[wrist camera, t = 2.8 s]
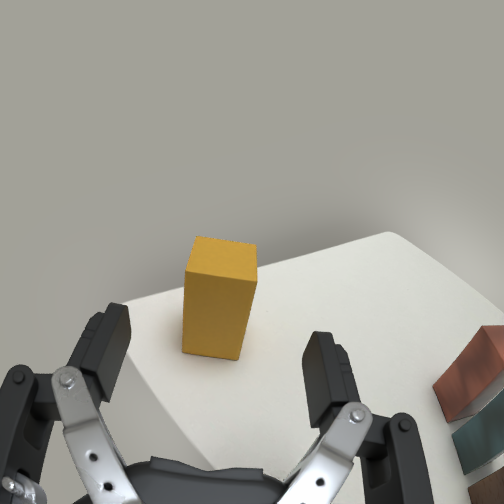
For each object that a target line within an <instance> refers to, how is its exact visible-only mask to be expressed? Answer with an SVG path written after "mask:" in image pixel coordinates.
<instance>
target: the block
mask: <svg viewBox="0 0 504 504" xmlns="http://www.w3.org/2000/svg"><path fill="white" fill-rule="evenodd" d="M256 286H257V252H256V245H253V244H247V243H240V242H234V241H227V240H220V239H214V238H207V237H201V236H196V239H195V242H194V245H193V248H192V251H191V254H190V257H189V260H188V264H187V267H186V270H185V283H184V305H183V336H182V352H183V353H189V354H195V355H202V356H209V357H216V358H224V359H232V360H238V359H239V355H240V351H241V347H242V343H243V339H244V335H245V331H246V327H247V323H248V319H249V315H250V311H251V306H252V302H253V298H254V294H255V290H256Z"/></svg>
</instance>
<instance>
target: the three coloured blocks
mask: <svg viewBox="0 0 504 504" xmlns="http://www.w3.org/2000/svg"><path fill="white" fill-rule="evenodd" d="M433 388H434V390H435V392H436V395H437V397H438V400H439V402H440V405H441V407H442V410H443V413H444V415H445V418H446V421H447V423H448V422H452V421H455V420H459V419H462V418H465V417H469V416H472V415H475V414H476V413H477V412H479V411H480V410H481V409H482V408H483V407H484V406H485V405H486V404H487V403H488V402H489V401H490V400H491V399H493V398H494V397H495V396H496V395H497V394H498V393H499V392H500V391H501V390H502V389H503V388H504V325H497V326H481V327H480V329H479V330H478V331H477V333H476V334H475V336H474V337H473V338H472V340H471V341H470V342H469V343H468V345H467V346H466V347H465V349H464V350H463V351H462V352H461V354H460V355H459V356H458V357H457V359H456V360H455V361H454V362H453V363H452V365H451V366H450V367H449V368H448V369H447V370H446V371H445V373H444V374H443V375H442V376H441V377H440V378H439V379H438V380H437V382H436V383H435V384H434V385H433ZM452 437H453V440H454V443H455V446H456V449H457V452H458V455H459V459H460V462H461V465H462V469H463V472H464V475H466V474H468V473H470V472H472V471H474V470H476V469H478V468H480V467H482V466H484V465H486V464H488V463H489V462H491V461H493V460H494V459H496V458H497V457H499V456H500V455H502V454H503V453H504V389H503V390H502V391H501V392H500V393H499V394H498V395H497V396H496V397H495V398H494V399H493V400H492V401H491V402H489V403H488V404H487V405H486V406H485V407H484V408H483V409H482V410H481V411H480V412H479V413H477V414H476V415H475V416H474V417H473V418H472V419H471V420H469V421H468V422H467V423H466V424H465V425H463V426H462V427H461V428H460V429H458V430H457V431H456V432H455V433H453V434H452ZM468 490H469V494H470V498H471V502H472V504H504V466H503V467H502V468H500V469H499V470H497V471H496V472H494V473H492V474H491V475H489V476H487V477H486V478H484V479H482V480H481V481H479V482H477V483H475V484H473V485H472V486H470V487H468Z"/></svg>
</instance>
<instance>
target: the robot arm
mask: <svg viewBox="0 0 504 504" xmlns="http://www.w3.org/2000/svg"><path fill="white" fill-rule="evenodd" d="M130 340H131V325H130V318H129V311H128V307H127V305H122V304H116V303H112V302H111V303H110V304H109V305H108V307H107V309H106V311H105V313H101V312H98V313H96V314H95V315H94V316H93V317H92V318H90V319H89V322H88V323H87V325H86V327H85V330H84V331H83V333H82V335H81V337H80V339H79V341H78V343H77V345H76V347H75V349H74V351H73V353H72V355H71V357H70V359H69V361H68V363H67V365H66V366H64V367H61V368H59V369H57V370H56V371H55V372H54V373H53V374H34V373H33V372H32V370H31V369H30V368H29V367H28V366H26V365H16V366H14V367H12V368H11V369H10V370H9V371H8V373H7V375H6V377H5V379H4V381H3V384H2V386H1V388H0V504H47V497H46V494H45V492H44V490H43V489H42V487H41V486H40V485H39V482H40V477H41V472H42V467H43V463H44V458H45V454H46V450H47V447H48V442H49V439H50V435H51V431H52V428H53V425H54V421H62V422H63V426H64V429H63V435H64V438H65V441H66V444H67V446H68V449H69V452H70V454H71V457H72V459H73V461H74V464H75V465H76V469H77V471H78V473H79V475H80V477H81V480H82V482H83V484H84V486H85V488H86V490H87V492H88V494H86V495H85V496H83V497H82V498H80V499H79V500H77V501H76V502H74V503H73V504H331V502H332V501H333V499H334V498H335V496H336V495H337V493H338V492H339V490H340V488H341V487H342V485H343V483H344V482H345V480H346V478H347V477H348V475H349V473H350V472H351V470H352V468H353V465H354V463H353V462H352V461H353V458H354V457H355V456H357V457H360V460H361V468H362V477H363V485H364V495H365V504H434V500H433V495H432V489H431V484H430V479H429V474H428V469H427V464H426V460H425V456H424V451H423V447H422V443H421V439H420V435H419V431H418V427H417V424H416V422H415V420H414V419H413V417H412V416H410V415H409V414H406V413H397V414H395V415H394V416H393V417H392V418H388V417H384V416H379V415H375V414H372V413H371V411H370V409H369V408H368V407H367V406H366V405H364V404H362V403H361V401H360V397H359V394H358V390H357V386H356V382H355V379H354V375H353V373H352V368H351V365H350V361H349V358H348V354H347V352H346V351H345V350H344V348H343V347H342V346H341V345H340V344H335V343H334V339H333V335H332V333H331V332H318V331H314V332H313V333H312V335H311V338H310V340H309V342H308V344H307V346H306V349H305V351H304V353H303V357H302V369H303V376H304V382H305V389H306V396H307V403H308V411H309V418H310V425H311V428H319V430H320V434H319V435H318V437H317V438H316V440H315V441H314V443H313V444H312V445H311V447H310V448H309V450H308V451H307V452H306V454H305V455H304V457H303V458H302V459H301V461H300V462H299V463H298V465H297V466H296V467H295V468H294V469H293V470H292V472H291V473H290V474H289V475H288V476H287V477H286V479H285V480H284V481H283V482H281V481H279V480H278V479H276V478H273V477H271V476H268V475H265V474H263V469H257V468H229V469H222V470H215V471H204V470H201V469H198V468H195V467H192V466H190V465H187V464H184V463H182V462H179V461H174V460H169V459H163V458H158V457H153V456H151V459H150V461H145V462H138V463H134V464H132V465H129V466H127V465H126V463H125V461H124V459H123V457H122V455H121V454H120V452H119V450H118V448H117V447H116V445H115V443H114V441H113V439H112V437H111V435H110V432H109V430H108V428H107V426H106V424H105V422H104V419H103V417H102V415H101V412H100V410H99V407H100V403H101V401H105V402H108V403H109V402H110V399H111V395H112V393H113V389H114V387H115V383H116V380H117V377H118V374H119V372H120V369H121V366H122V363H123V360H124V357H125V354H126V352H127V349H128V346H129V343H130Z"/></svg>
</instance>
